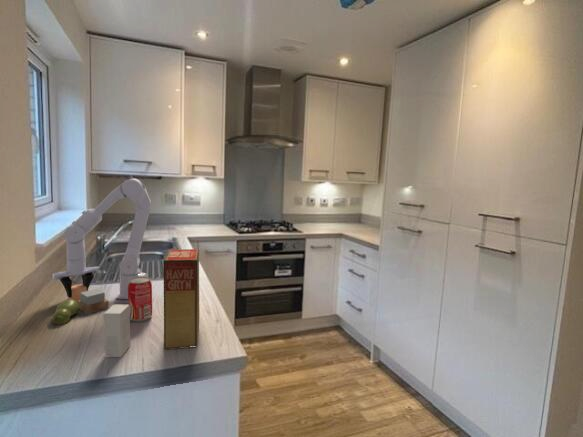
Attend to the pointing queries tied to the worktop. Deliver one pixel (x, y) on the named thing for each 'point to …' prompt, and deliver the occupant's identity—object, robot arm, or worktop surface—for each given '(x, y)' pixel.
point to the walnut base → (93, 306)
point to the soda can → (140, 298)
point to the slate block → (92, 296)
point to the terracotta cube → (77, 291)
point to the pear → (65, 311)
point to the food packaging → (181, 298)
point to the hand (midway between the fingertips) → (77, 295)
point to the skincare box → (117, 330)
